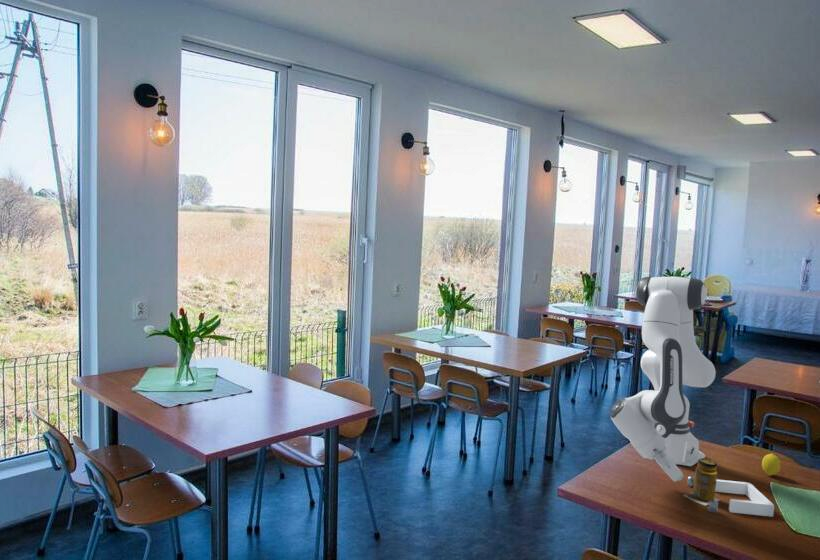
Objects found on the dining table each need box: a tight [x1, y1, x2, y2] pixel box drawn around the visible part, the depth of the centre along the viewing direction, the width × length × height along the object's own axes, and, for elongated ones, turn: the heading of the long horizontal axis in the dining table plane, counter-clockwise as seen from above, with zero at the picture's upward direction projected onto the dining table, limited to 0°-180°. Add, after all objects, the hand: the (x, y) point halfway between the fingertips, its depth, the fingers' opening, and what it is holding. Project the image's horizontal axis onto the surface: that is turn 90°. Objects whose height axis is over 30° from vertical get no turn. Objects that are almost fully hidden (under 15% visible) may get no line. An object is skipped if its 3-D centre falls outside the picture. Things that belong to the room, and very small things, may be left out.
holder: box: [715, 479, 775, 518], centre depth 187 cm, size 12×16×4 cm
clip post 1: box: [686, 475, 695, 489], centre depth 197 cm, size 2×2×3 cm
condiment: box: [682, 458, 720, 506], centre depth 188 cm, size 7×8×12 cm
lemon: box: [761, 452, 781, 477], centre depth 210 cm, size 6×6×8 cm
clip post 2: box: [707, 500, 719, 515], centre depth 179 cm, size 2×2×3 cm
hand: (679, 477), depth 188 cm, fingers closed
